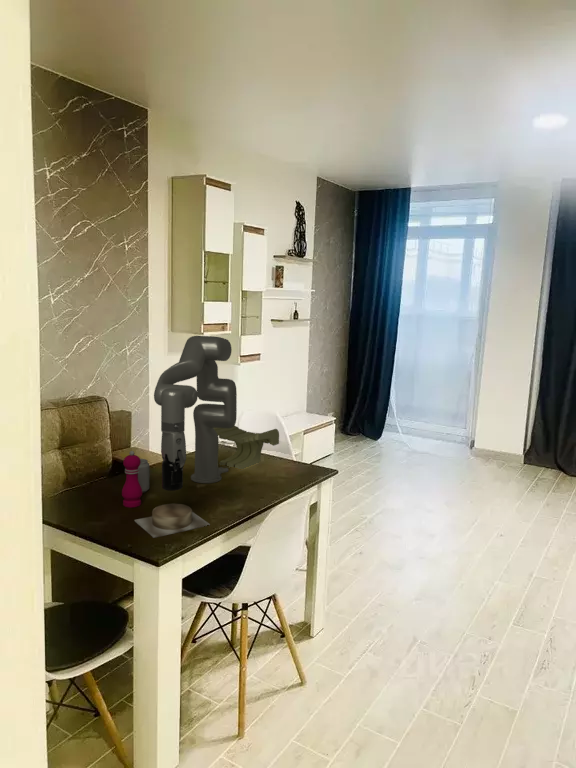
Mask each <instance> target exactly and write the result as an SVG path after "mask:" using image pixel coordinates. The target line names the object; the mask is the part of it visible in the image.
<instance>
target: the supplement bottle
mask: <svg viewBox="0 0 576 768" xmlns="http://www.w3.org/2000/svg"><path fill="white" fill-rule="evenodd" d="M165 459H166V460H165V461H163V460H162V462H163V463H161V488H162V490H164V491H169V492H171V491H179V490H181V489H182V488H183V485H184V476H183V475H184V469H183V470H182V482H178V483H173V471H174V468H173V463H172V462H170V461H169V459H168V456H167V454H165ZM175 461H179V459H178V460H175ZM178 464H179V463H176V466H177V465H178Z"/></svg>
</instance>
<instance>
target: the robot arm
mask: <svg viewBox="0 0 576 768" xmlns="http://www.w3.org/2000/svg"><path fill="white" fill-rule="evenodd" d="M231 355H232V345H231V342H230V341H229V340H228V338H224V337H221V336H215V335H214V336H213V335H211V336H210V335H193V336H190V337H188V338H187V340H186V341H185V343H184V347H183V349H182V352H181V355H180V358H179V360H178V362H177V363H174V364H173V365H171V366H170V367H168V368H167V369H166V370H164V371H163V372H162V373H161V374H160V375H159V378H158V380H157V382H156V386H155V388H154V392H153V399H154V402H155V403H156V405H157V406H160V408H161V409H160V412H161V414H160V416H161V417H160V424H161V425H160V426H161V427H160V431H161V441H160V442H161V444H160V454H161V458H162V463H163V461H165V460H166V459H165V454H167V456H168V459H169V461H170V462H172V463H173V468H174V471H173V483H178V482H182V470H183V471H184V467H185V464H186V460H187V445H186V435H185V423H186V422H185V419H186V416H185V414H186V413H185V412H186V409H189V408H191V407H193V406H194V405H196V404H197V401H198V399H199V400H200V401H203V402H211V403H200V404H197V405H196V406H195V407H194V408H193V412H192V413H193V414H192V415H193V424H194V431H195V432H194V440H195V442H194V473H192V474H191V475H190V480H191V481H192V482H195V483H198V484H213V483H217V482H220V481H221V480H222V479H223V478H222V473H228V472H229V467H223V466H220V467H219V443H220V442H219V441H220V438H219V436H218V435H217V433H216V431H215V430H214V428H232V427H234V426H236V425H237V424H236V423H237V410H238V409H237V406H238V404H237V403H238V402H237V399H238V398H237V396H238V395H237V385H236V382H235V381H234V380H233V379H230V378H221V377H219V372H218V371H219V366H218V364H217V362H216V361H218V362H226V361H228V360H229V359H230V358H231ZM193 378H196V388H195V387H194V386H192V385H187V384H176V383H180V382H184V381H188V380H190V379H193ZM212 402H213V403H212ZM217 403H223V404H217ZM178 459H179V461H175V460H178ZM162 463H161V464H162ZM176 463H179V464H178V465H177V466H176Z"/></svg>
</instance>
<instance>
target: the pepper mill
mask: <svg viewBox="0 0 576 768" xmlns="http://www.w3.org/2000/svg"><path fill="white" fill-rule="evenodd" d="M140 459H141V458H140V457H139V456H138V455H135V451H133V450H130V451H129V455H127V456H125V457H124V458H123V463H122V464H123V466H124V473H125V476H126V477H125V478H126V479H125V483H124V484H123V487H122V489H121V496H122V498H123V500H122V505H123V507H125V508H138V507H139V506H141V504H142V499H141V497H142V496H143V493H142V488H141V486H140V484H139V481H138V473H139V468H138V467H139V466H140V464H141V461H140Z"/></svg>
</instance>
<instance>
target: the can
mask: <svg viewBox="0 0 576 768" xmlns="http://www.w3.org/2000/svg"><path fill="white" fill-rule="evenodd" d="M140 461H141V464H140V466H139V467H138V468H139V473H138V481H139V484H140V486H141V488H142V494H143V493H146V492H147V491H148V490H149V489H150V463H149V461H148V459H145V458H140Z"/></svg>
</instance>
